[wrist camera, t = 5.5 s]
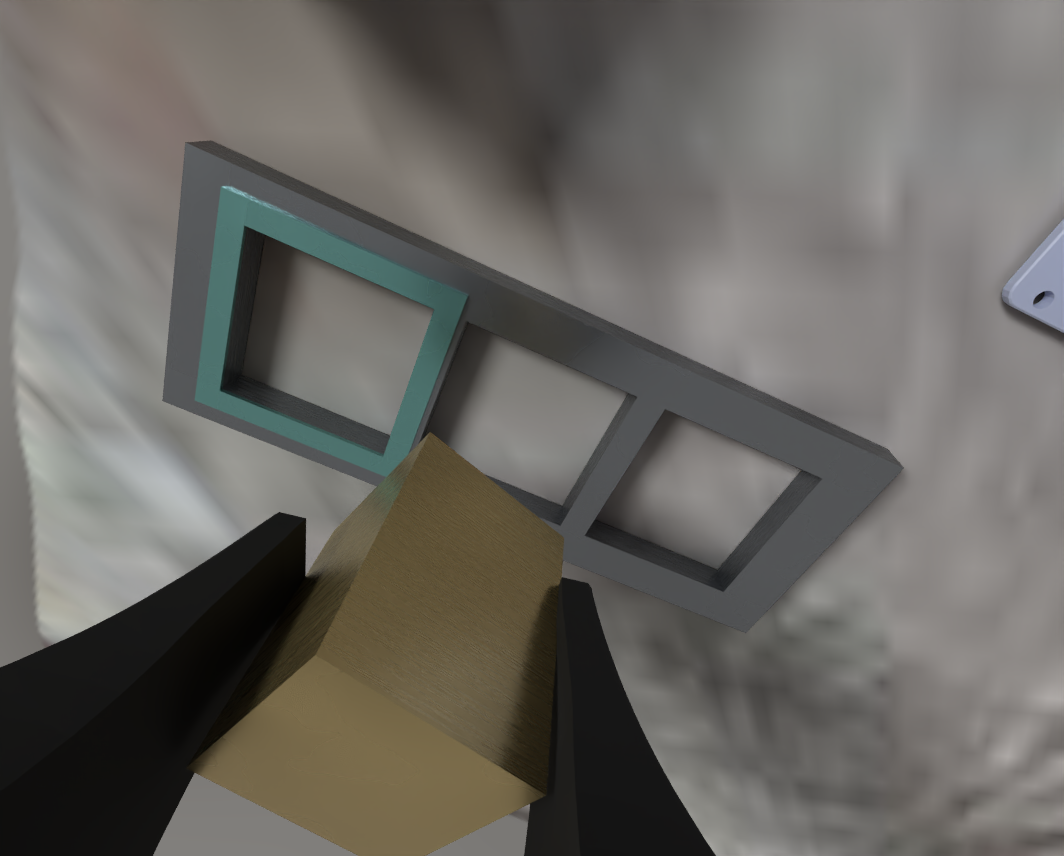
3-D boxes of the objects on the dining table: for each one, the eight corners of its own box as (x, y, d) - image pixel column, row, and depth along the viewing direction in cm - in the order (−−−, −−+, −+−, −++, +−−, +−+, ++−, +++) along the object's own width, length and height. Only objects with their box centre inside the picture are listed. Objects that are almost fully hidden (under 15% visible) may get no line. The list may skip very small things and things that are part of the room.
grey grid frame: (887, 448, 19) (906, 470, 18) (739, 610, 24) (746, 636, 23) (211, 140, 17) (181, 142, 16) (183, 386, 21) (159, 402, 20)
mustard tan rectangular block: (564, 537, 14) (546, 795, 9) (459, 618, 16) (391, 872, 10) (430, 431, 13) (315, 655, 7) (333, 531, 14) (186, 767, 9)
